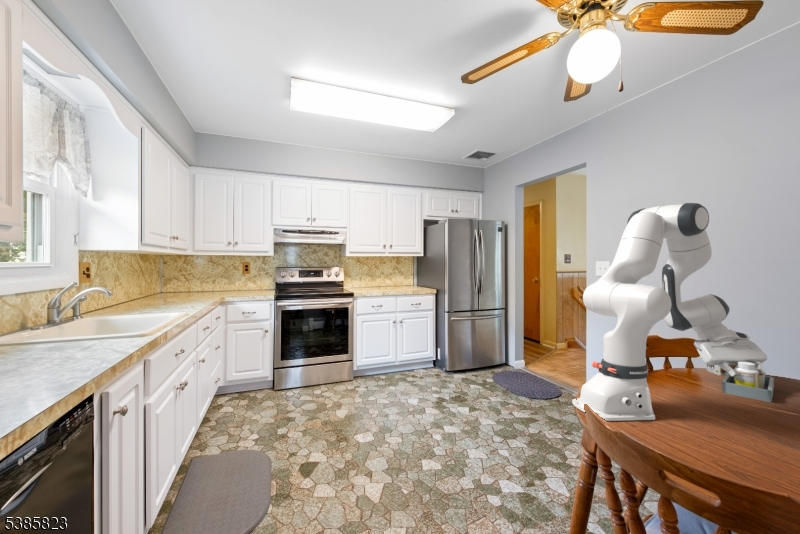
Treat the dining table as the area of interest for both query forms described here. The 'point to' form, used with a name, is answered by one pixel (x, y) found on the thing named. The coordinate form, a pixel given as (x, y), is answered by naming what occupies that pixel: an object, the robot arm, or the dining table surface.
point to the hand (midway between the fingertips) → (749, 375)
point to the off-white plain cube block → (761, 381)
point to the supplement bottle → (747, 375)
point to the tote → (749, 389)
